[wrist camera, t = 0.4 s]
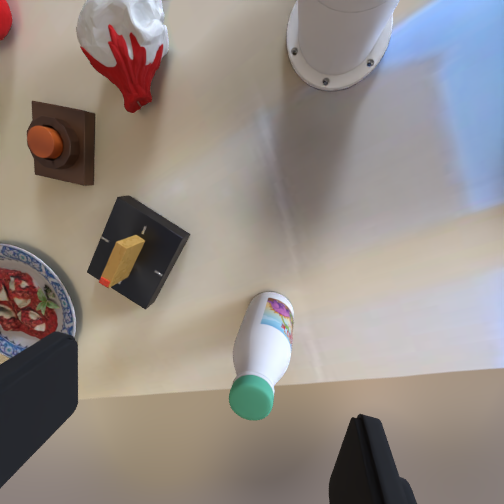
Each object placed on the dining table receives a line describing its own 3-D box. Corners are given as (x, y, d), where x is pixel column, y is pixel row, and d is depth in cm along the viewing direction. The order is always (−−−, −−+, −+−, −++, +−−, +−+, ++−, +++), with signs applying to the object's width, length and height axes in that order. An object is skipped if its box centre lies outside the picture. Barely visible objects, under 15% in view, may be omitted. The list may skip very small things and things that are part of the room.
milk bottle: (257, 335, 49) (229, 439, 30) (242, 297, 47) (201, 379, 28) (300, 325, 47) (298, 429, 28) (285, 285, 45) (273, 364, 26)
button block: (44, 103, 44) (19, 97, 40) (95, 113, 43) (75, 108, 39) (46, 174, 47) (24, 174, 44) (93, 185, 46) (75, 186, 43)
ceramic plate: (-11, 352, 62) (-26, 360, 59) (-45, 238, 55) (-64, 241, 52) (93, 364, 57) (82, 374, 54) (70, 243, 50) (57, 247, 47)
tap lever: (136, 234, 44) (114, 242, 39) (145, 240, 44) (125, 248, 39) (119, 271, 47) (97, 282, 42) (128, 276, 47) (107, 289, 42)
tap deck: (129, 195, 46) (116, 196, 43) (190, 234, 46) (182, 238, 43) (98, 266, 51) (85, 272, 48) (154, 302, 51) (145, 310, 48)
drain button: (37, 125, 42) (26, 122, 40) (63, 130, 41) (53, 128, 39) (38, 155, 43) (27, 154, 41) (63, 161, 42) (54, 160, 41)
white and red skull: (166, -21, 36) (192, 106, 42) (91, 1, 38) (125, 119, 44) (128, -67, 28) (166, 99, 34) (36, -36, 30) (85, 115, 36)
